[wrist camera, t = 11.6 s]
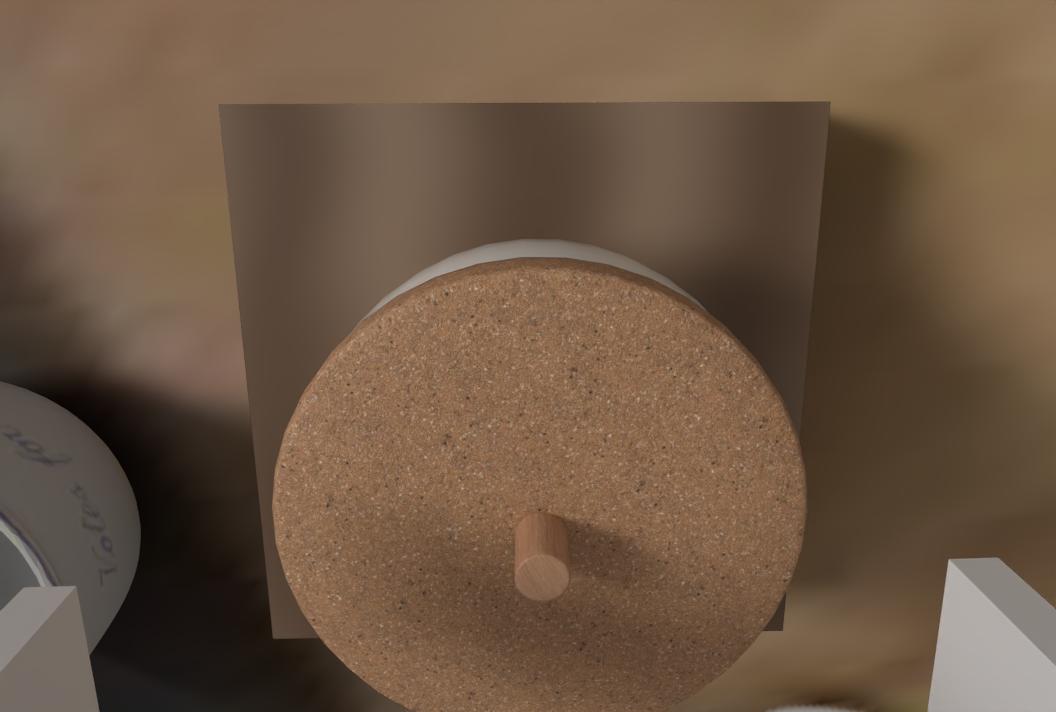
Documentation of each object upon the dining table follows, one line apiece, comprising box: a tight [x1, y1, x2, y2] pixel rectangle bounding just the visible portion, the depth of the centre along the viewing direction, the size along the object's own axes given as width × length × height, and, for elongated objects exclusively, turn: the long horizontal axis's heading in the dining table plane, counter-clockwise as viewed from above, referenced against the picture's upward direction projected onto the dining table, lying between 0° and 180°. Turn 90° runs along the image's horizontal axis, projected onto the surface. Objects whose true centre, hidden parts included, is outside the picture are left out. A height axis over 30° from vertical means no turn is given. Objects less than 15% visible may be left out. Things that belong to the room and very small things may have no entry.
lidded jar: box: [272, 239, 808, 712], centre depth 20 cm, size 11×11×9 cm
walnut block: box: [219, 102, 831, 639], centre depth 27 cm, size 16×16×5 cm
